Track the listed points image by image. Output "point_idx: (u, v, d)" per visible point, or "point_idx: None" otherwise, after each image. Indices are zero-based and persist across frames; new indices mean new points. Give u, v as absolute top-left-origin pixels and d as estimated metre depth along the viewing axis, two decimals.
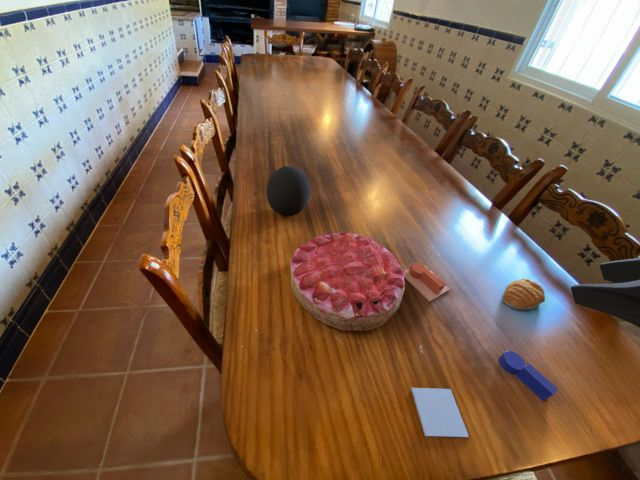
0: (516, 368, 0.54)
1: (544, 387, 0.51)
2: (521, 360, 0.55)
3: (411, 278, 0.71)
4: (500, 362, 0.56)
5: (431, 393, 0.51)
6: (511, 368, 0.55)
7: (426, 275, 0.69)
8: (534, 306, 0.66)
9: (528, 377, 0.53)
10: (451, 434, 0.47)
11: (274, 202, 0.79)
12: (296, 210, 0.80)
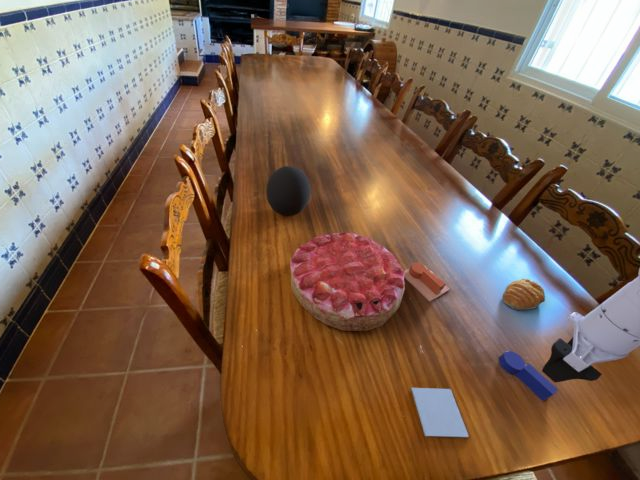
0: (516, 368, 0.54)
1: (544, 387, 0.51)
2: (521, 360, 0.55)
3: (411, 278, 0.71)
4: (500, 362, 0.56)
5: (431, 393, 0.51)
6: (511, 368, 0.55)
7: (426, 275, 0.69)
8: (534, 306, 0.66)
9: (528, 377, 0.53)
10: (451, 434, 0.47)
11: (274, 202, 0.79)
12: (296, 210, 0.80)
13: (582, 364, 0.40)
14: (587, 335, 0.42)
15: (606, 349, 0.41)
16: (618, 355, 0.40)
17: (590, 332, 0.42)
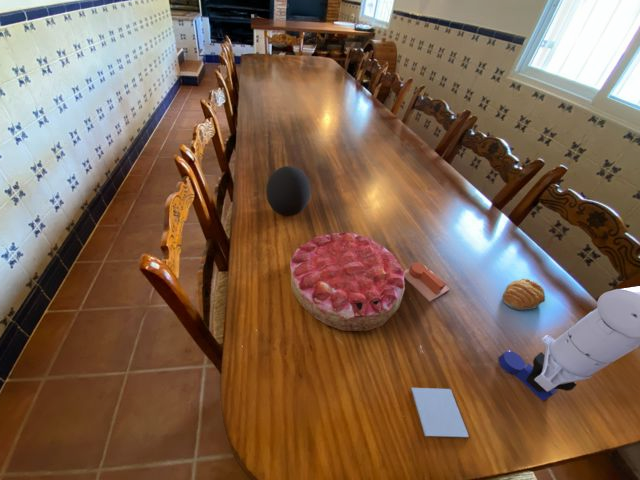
0: (516, 368, 0.54)
1: None
2: (521, 360, 0.55)
3: (411, 278, 0.71)
4: (500, 362, 0.56)
5: (431, 393, 0.51)
6: (511, 368, 0.55)
7: (426, 275, 0.69)
8: (534, 306, 0.66)
9: None
10: (451, 434, 0.47)
11: (274, 202, 0.79)
12: (296, 210, 0.80)
13: (550, 385, 0.44)
14: (556, 357, 0.47)
15: (572, 371, 0.45)
16: (583, 376, 0.45)
17: (559, 355, 0.46)
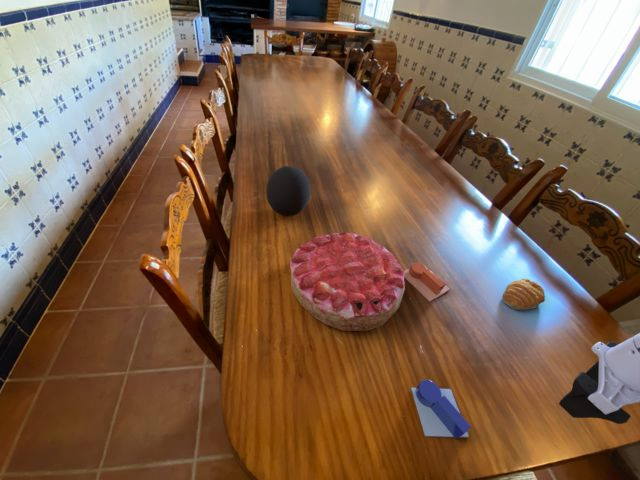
0: (430, 401, 0.48)
1: (456, 424, 0.45)
2: (438, 391, 0.50)
3: (411, 278, 0.71)
4: (416, 393, 0.51)
5: None
6: (425, 401, 0.49)
7: (426, 275, 0.69)
8: (534, 306, 0.66)
9: (442, 412, 0.47)
10: (451, 434, 0.47)
11: (274, 202, 0.79)
12: (296, 210, 0.80)
13: (611, 407, 0.35)
14: (615, 371, 0.37)
15: (637, 389, 0.36)
16: None
17: (619, 368, 0.37)
